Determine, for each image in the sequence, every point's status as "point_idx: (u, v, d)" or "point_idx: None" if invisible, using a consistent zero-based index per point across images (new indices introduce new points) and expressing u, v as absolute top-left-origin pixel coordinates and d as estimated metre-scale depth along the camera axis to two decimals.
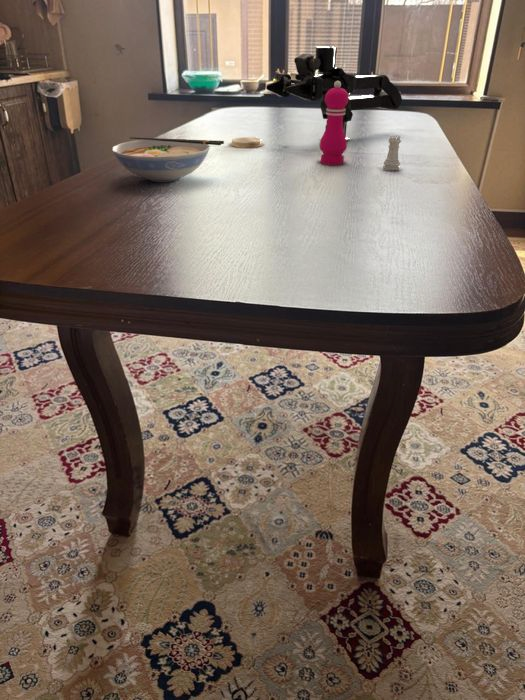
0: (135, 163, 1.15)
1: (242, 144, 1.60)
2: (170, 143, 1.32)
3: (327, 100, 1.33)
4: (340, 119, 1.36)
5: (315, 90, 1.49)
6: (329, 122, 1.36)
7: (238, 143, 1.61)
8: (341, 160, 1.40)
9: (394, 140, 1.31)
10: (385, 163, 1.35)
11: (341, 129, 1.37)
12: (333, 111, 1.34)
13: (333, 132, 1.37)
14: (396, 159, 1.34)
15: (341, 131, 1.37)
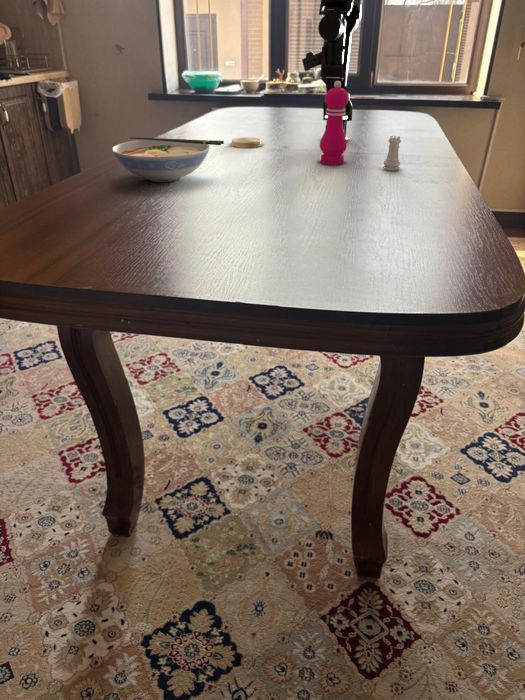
0: (135, 163, 1.15)
1: (242, 144, 1.60)
2: (170, 143, 1.32)
3: (327, 100, 1.33)
4: (340, 119, 1.36)
5: None
6: (329, 122, 1.36)
7: (238, 143, 1.61)
8: (341, 160, 1.40)
9: (394, 140, 1.31)
10: (385, 163, 1.35)
11: (341, 129, 1.37)
12: (333, 111, 1.34)
13: (334, 132, 1.36)
14: (396, 159, 1.34)
15: (341, 131, 1.37)
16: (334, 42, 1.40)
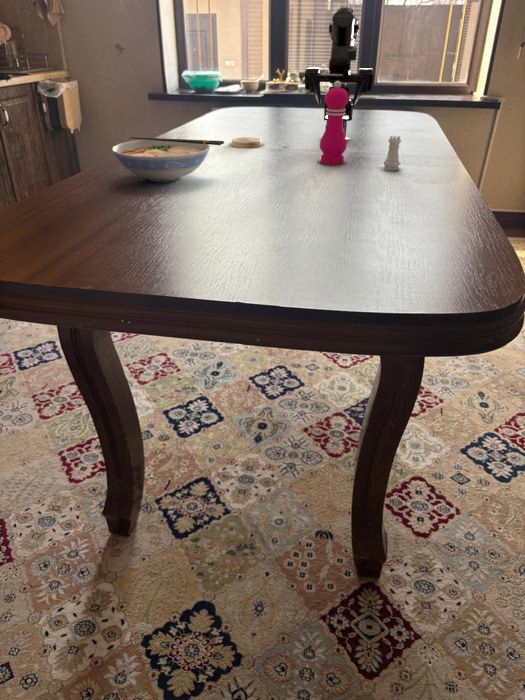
0: (135, 163, 1.15)
1: (242, 144, 1.60)
2: (170, 143, 1.32)
3: (327, 100, 1.33)
4: (340, 119, 1.36)
5: (370, 83, 1.43)
6: (329, 122, 1.36)
7: (238, 143, 1.61)
8: (341, 160, 1.40)
9: (394, 140, 1.31)
10: (385, 163, 1.35)
11: (341, 129, 1.37)
12: (333, 111, 1.34)
13: (334, 132, 1.36)
14: (396, 159, 1.34)
15: (341, 131, 1.37)
16: None
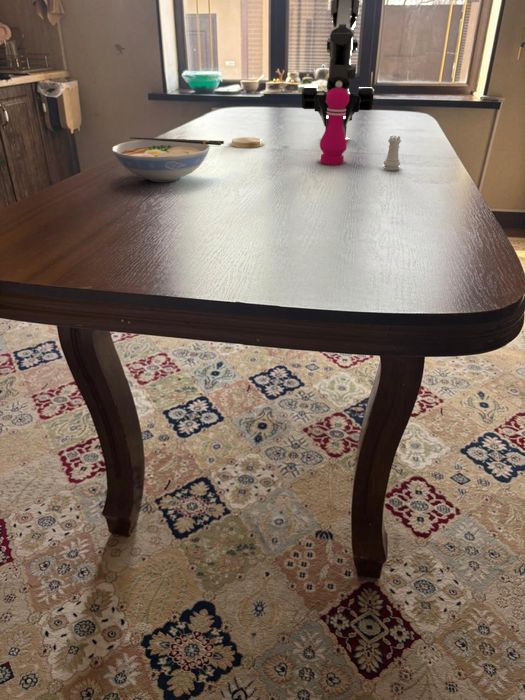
0: (135, 163, 1.15)
1: (242, 144, 1.60)
2: (170, 143, 1.32)
3: (328, 100, 1.33)
4: (341, 119, 1.35)
5: (370, 102, 1.38)
6: (330, 122, 1.36)
7: (238, 143, 1.61)
8: (341, 160, 1.40)
9: (394, 140, 1.31)
10: (385, 163, 1.35)
11: (341, 129, 1.37)
12: (334, 111, 1.34)
13: (334, 132, 1.36)
14: (396, 159, 1.34)
15: (341, 131, 1.37)
16: None
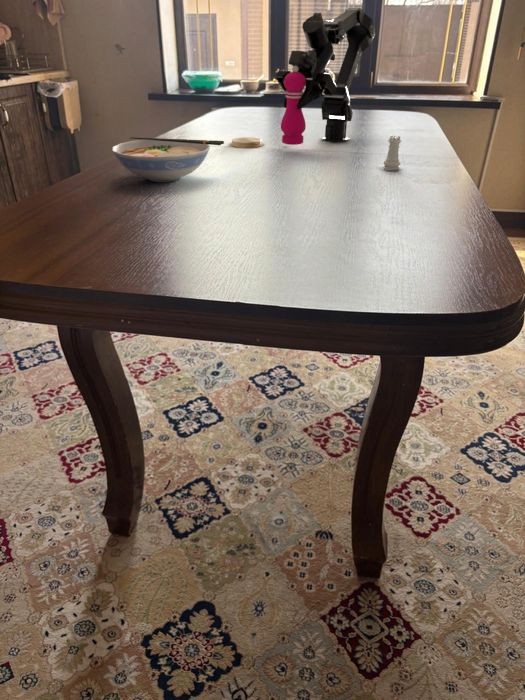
0: (135, 163, 1.15)
1: (242, 144, 1.60)
2: (170, 143, 1.32)
3: (284, 83, 1.45)
4: (294, 102, 1.46)
5: (328, 88, 1.43)
6: None
7: (238, 143, 1.61)
8: (294, 141, 1.50)
9: (394, 140, 1.31)
10: (385, 163, 1.35)
11: (295, 111, 1.47)
12: (287, 93, 1.45)
13: (287, 114, 1.48)
14: (396, 159, 1.34)
15: (295, 113, 1.47)
16: (324, 63, 1.47)
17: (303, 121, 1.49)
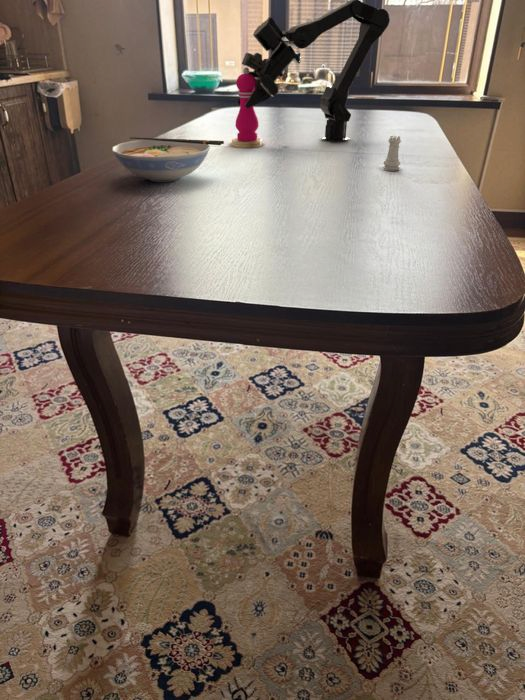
0: (135, 163, 1.15)
1: (242, 144, 1.60)
2: (170, 143, 1.32)
3: None
4: (243, 101, 1.57)
5: (268, 89, 1.50)
6: None
7: (238, 143, 1.61)
8: (243, 137, 1.61)
9: (394, 140, 1.31)
10: (385, 163, 1.35)
11: (244, 110, 1.58)
12: None
13: (239, 112, 1.59)
14: (396, 159, 1.34)
15: (244, 112, 1.58)
16: (279, 65, 1.53)
17: (252, 119, 1.59)
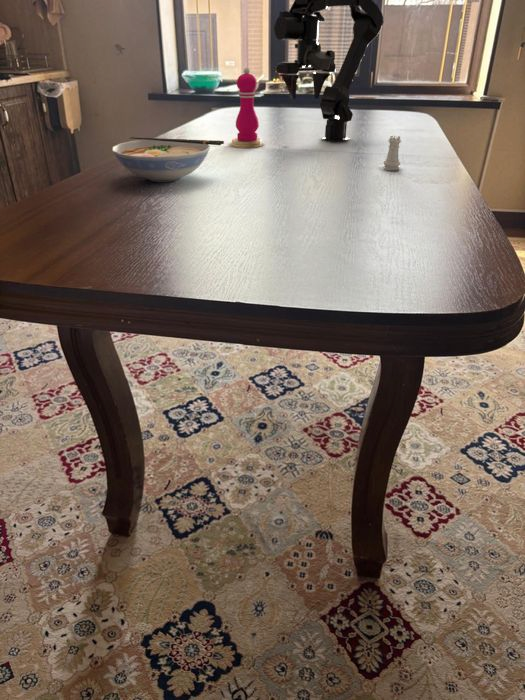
0: (135, 163, 1.15)
1: (242, 144, 1.60)
2: (170, 143, 1.32)
3: None
4: (243, 101, 1.57)
5: None
6: None
7: (238, 143, 1.61)
8: (243, 137, 1.61)
9: (394, 140, 1.31)
10: (385, 163, 1.35)
11: (245, 110, 1.58)
12: None
13: (239, 112, 1.59)
14: (396, 159, 1.34)
15: (244, 112, 1.58)
16: None
17: (252, 120, 1.59)
